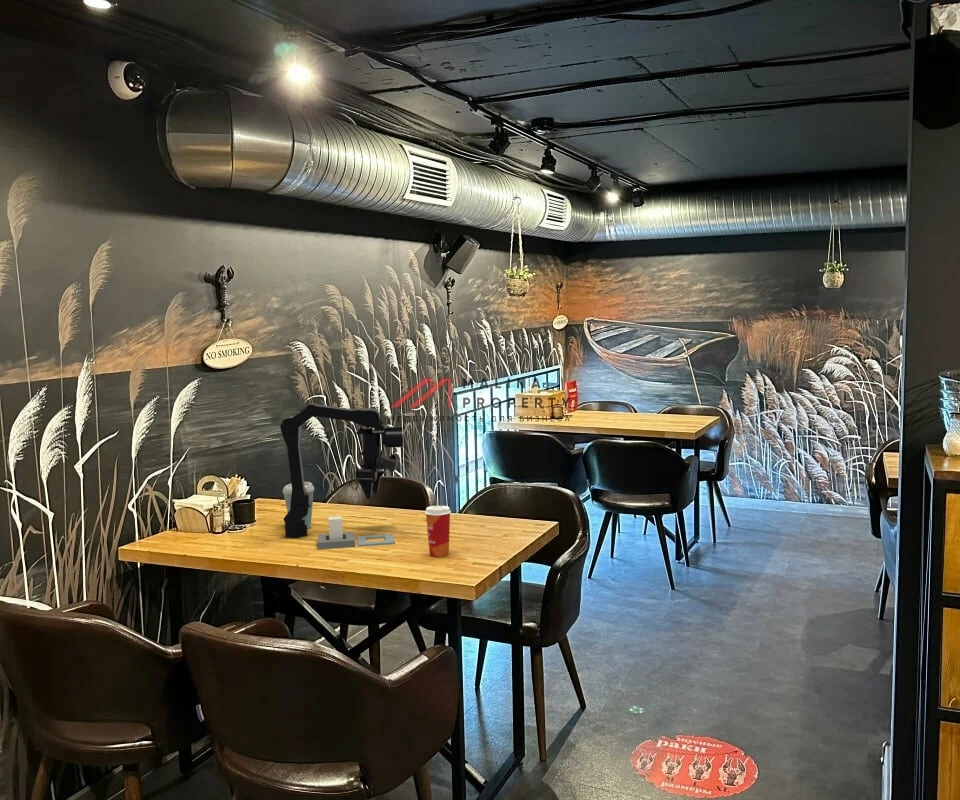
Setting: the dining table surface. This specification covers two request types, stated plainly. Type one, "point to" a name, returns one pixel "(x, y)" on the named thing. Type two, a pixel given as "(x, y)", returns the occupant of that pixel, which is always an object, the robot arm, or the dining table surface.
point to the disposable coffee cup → (287, 496)
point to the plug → (335, 528)
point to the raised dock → (336, 541)
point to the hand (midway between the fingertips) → (372, 496)
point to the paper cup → (438, 530)
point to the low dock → (388, 538)
